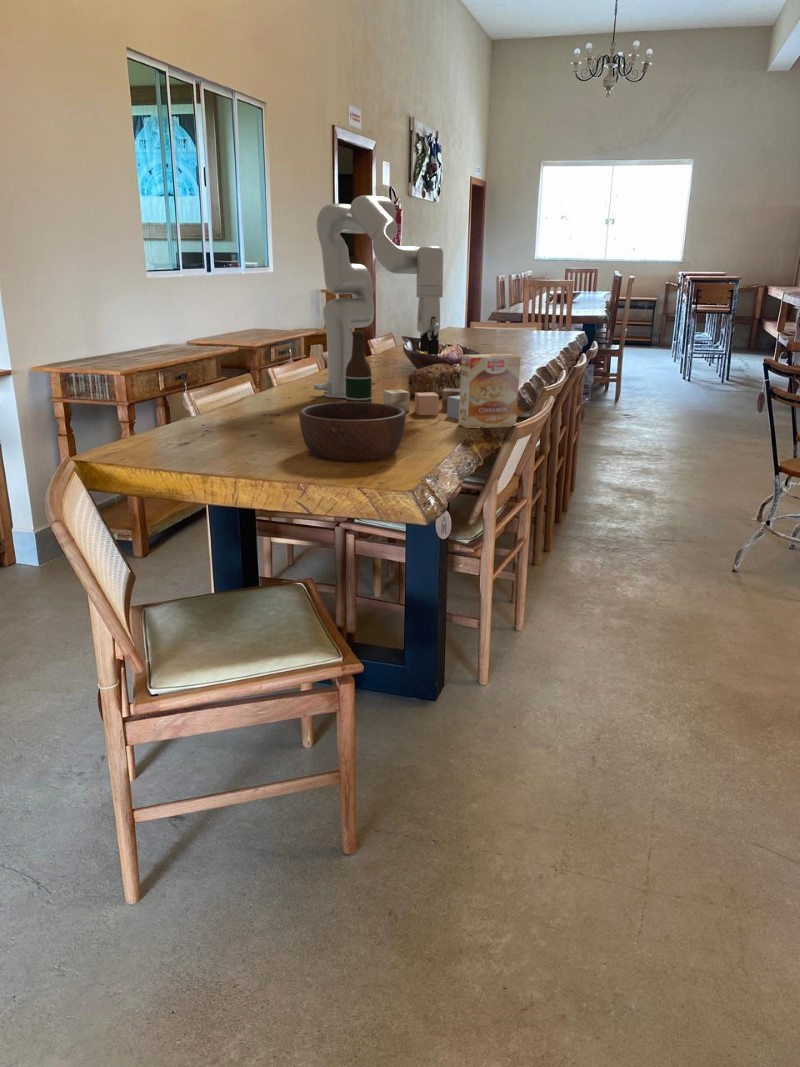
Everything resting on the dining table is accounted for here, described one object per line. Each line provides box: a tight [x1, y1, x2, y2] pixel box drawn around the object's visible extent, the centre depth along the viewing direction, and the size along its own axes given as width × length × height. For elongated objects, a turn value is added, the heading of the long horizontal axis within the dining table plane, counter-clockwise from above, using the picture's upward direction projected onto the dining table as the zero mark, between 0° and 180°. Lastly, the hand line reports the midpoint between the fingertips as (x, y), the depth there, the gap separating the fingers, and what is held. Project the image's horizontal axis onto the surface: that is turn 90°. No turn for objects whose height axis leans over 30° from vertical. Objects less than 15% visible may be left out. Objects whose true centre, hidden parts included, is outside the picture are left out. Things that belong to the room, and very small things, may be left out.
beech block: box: [383, 389, 411, 413], centre depth 242 cm, size 6×6×6 cm
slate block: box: [446, 396, 460, 420], centre depth 233 cm, size 6×6×6 cm
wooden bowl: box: [298, 401, 407, 463], centre depth 187 cm, size 25×25×10 cm
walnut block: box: [441, 388, 460, 411], centre depth 246 cm, size 6×6×6 cm
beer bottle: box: [345, 330, 372, 403], centre depth 235 cm, size 8×8×24 cm
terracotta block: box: [414, 392, 440, 416], centre depth 238 cm, size 6×6×6 cm
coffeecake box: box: [458, 353, 521, 429], centre depth 219 cm, size 15×7×20 cm, turn 108°
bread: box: [407, 363, 461, 398], centre depth 272 cm, size 19×11×10 cm, turn 146°
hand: (429, 353), depth 232 cm, fingers open, 9 cm apart
